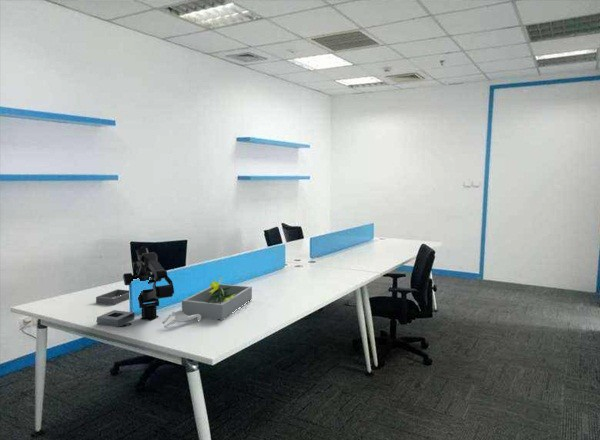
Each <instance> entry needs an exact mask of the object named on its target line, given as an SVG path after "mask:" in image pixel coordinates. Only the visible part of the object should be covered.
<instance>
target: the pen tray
mask: <svg viewBox="0 0 600 440" xmlns="http://www.w3.org/2000/svg"><path fill="white" fill-rule="evenodd" d="M129 290H130V289H129ZM129 290H127V289H120V288H119V289H114V290H112V291H109V292H107V293H104V294H100V295H98V296H96V297H95V303H96V304H100V305H101V304H103V305H110V306H111V305H112V306H115V305H118V304H120V303H123V302H125V301H127V300H130V299H129ZM117 295H121V296H117ZM115 296H116V297H115Z"/></svg>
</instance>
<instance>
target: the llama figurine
mask: <svg viewBox="0 0 600 440" xmlns="http://www.w3.org/2000/svg"><path fill="white" fill-rule="evenodd" d="M172 317H175V319H174V320H173V321H171V322H169V323H167V324H166V325H165V323H166V322H168V321H169V319H170V318H172ZM196 317H197V318H196ZM195 318H196V319H197V321H198V320H199V321H198V322H200V321H201V320H202V318H201V315H200V314H195V315H191V316H187V315H186V314H184V313H183V312H182V308H181V309H177V310H175V311H172V313H171V314H169V315H168V316H167V317H166V318H165V319H164V320H162V321H161V323H162V324H164V326H163V327H164V328H165V329H166V328H168V327H170V326H171V325H174V324H175V323H180V322H183V321H184V322H185V321H191V320H193V319H195Z"/></svg>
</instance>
